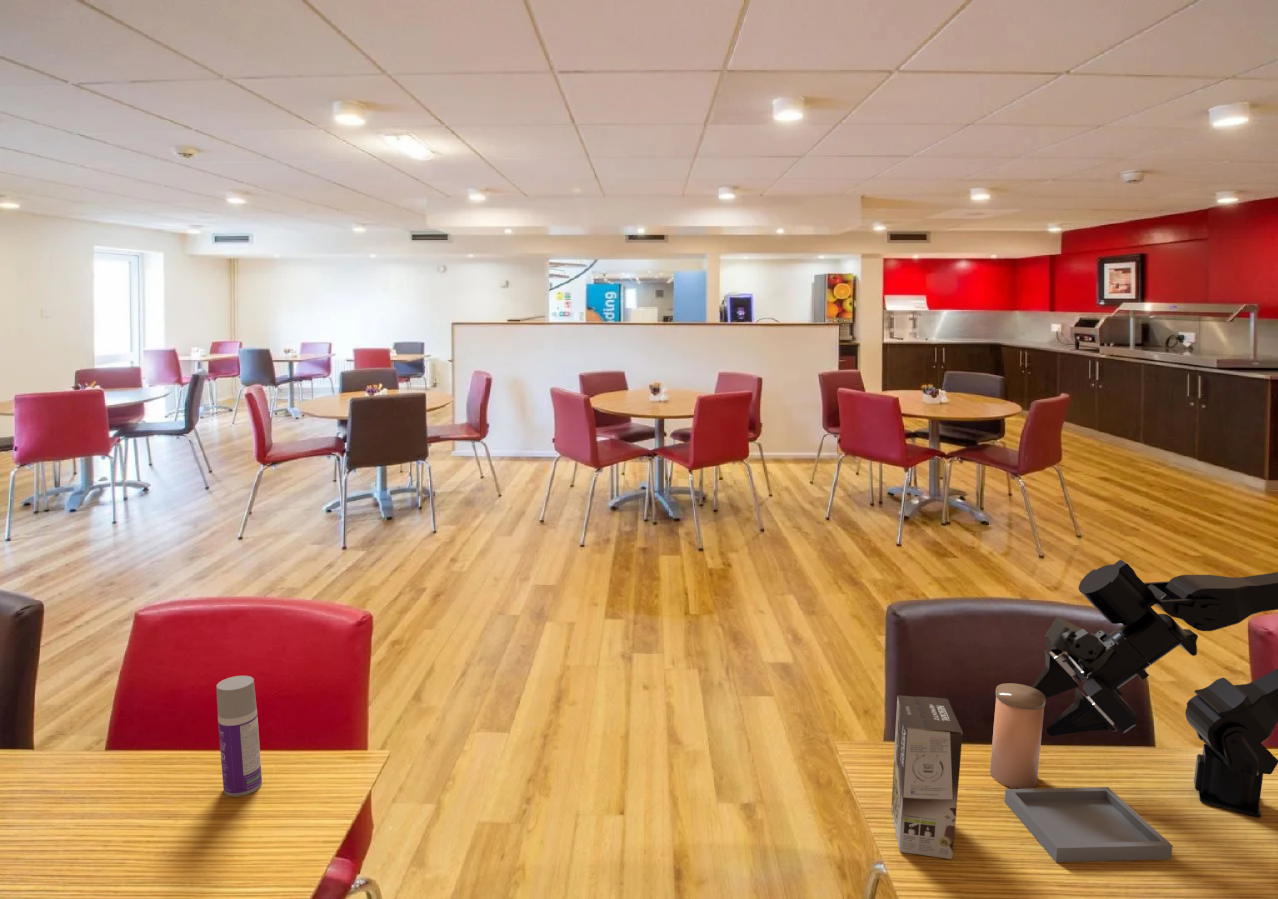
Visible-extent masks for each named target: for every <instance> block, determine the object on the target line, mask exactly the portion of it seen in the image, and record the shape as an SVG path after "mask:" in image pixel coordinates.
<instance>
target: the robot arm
mask: <svg viewBox="0 0 1278 899" xmlns="http://www.w3.org/2000/svg"><path fill="white" fill-rule="evenodd" d="M1078 591H1079V592H1080V593H1081V594H1082V595H1083V597H1085V599H1087V601H1088V602H1089V603H1090V604H1091V605H1092V606H1093V607H1094V608H1095V609H1096V611H1098V612H1099V613H1100V614H1101V616H1103V617H1104V619H1105V620H1106V621H1107V622H1108V623H1110V624H1112V625H1113V624H1114V625H1119V624H1122V625H1121V626H1119V627H1118V628H1116V629H1115V630H1114V631H1112V632H1111V633H1108V631H1107V630H1105V629H1104V630H1098V632H1095V633H1093V632H1091V633H1090V632H1088V631H1087V630H1086V629H1085V628H1081V627H1079V626H1077V625H1075V624H1073V623H1071V622H1069V621H1068V620H1066V619H1063V618H1062V617H1059V616H1056V618H1055V619H1054V621H1053V622H1052V624H1051V625H1050V627H1049V628H1048V629H1047V632H1046V633H1045V635H1044V637H1046V639H1048V640H1047V641H1046V642H1044V645H1045V646H1046V647H1048V649H1049V650H1050V651H1048V649H1047V648H1045V649H1044V650H1043V651H1044V652H1043V653H1044V654H1045V658H1044V659H1045V665H1044V667H1043V670H1042V671H1041V673H1040V674H1039V676H1038V677H1037V678H1036V680H1035V681H1034V683H1033V684H1032V685H1031V687H1032V688H1035V689H1037V690H1039V691H1040V692H1042V693H1043V694H1044V695H1045V697H1046V700H1047V699H1050V698H1052V697H1055V696H1057V695H1060V694H1062V693H1065V692H1068V691H1070V690H1074V689H1075V694H1074V700H1073V702H1072V703H1071V704H1070V705H1068V707H1067V708H1066V709H1065V710H1063V711H1062V712H1061V713H1060V714H1059V715H1058V716H1056V718H1054V719H1053V720H1052V721H1051V722H1050V723H1049V724H1048V725H1047V726H1046V727H1045V728H1044V730H1045V731H1044V732H1046V734H1048V735H1049V736H1050V737H1055V736H1063V735H1070V734H1071V735H1072V734H1077V733H1086V732H1097V731H1109V730H1110V731H1111V732H1116V731H1117V728H1118V729H1119V730H1120V731H1121V732H1122V733H1123V734H1126V733H1127V732H1128V731H1130V730H1131V729H1132V728H1134V727H1136V725H1137V724H1138V722H1137V721H1138V716H1139V715H1138V714H1137V713H1136V712H1135V711H1134V710H1133V709H1132V707H1130V705H1129V704H1128V703H1127V701H1125V700H1124V699H1123V698H1122V697H1121V696H1122V695H1123V692H1121V691H1120V689H1119V688H1121V687H1122V686H1124V685H1125V684H1127V683H1128V682H1129V681H1131V680H1132V679H1134V678H1135V677H1136V676H1138V677H1139V678H1140V679H1141V680H1142V681H1144V680H1145V679H1147V678H1148V677H1149V676H1150V674H1149V673H1148V672H1147V671H1146V669H1147V668H1149V667H1150V666H1152V665H1154V664H1155V663H1156V662H1158V661H1159V660H1161V659H1162V658H1164V656H1166V655H1167V654H1169V653H1170V652H1172V651H1173V650H1174V649H1176V648H1177V647H1181V649H1183V650H1185V651H1186V652H1187V653H1188V654H1189V655H1190V656H1192V657H1194V656H1197V655H1198V647H1197V646H1198V645H1197V642H1198V638H1199V636H1198V634H1197V633H1195V632H1194V631H1193V630H1191V629H1189V628H1182V627H1181V626H1180V625H1179V623H1177V621H1176V620H1175V619H1174V618H1176V619H1180V620H1181V621H1183V622H1184V623H1185V624H1187V625H1188V626H1190V627H1191V628H1193V629H1194V630H1197V631H1201V632H1214V631H1218V630H1220V629H1224V628H1227V627H1230V626H1234V625H1238V624H1240V623H1242V622H1243V621H1245V620H1246V619H1247V618H1249V617H1251V616H1253V615H1255V614H1259V613H1262V612H1263V613H1264V612H1270V611H1277V610H1278V571H1277V572H1276V571H1275V572H1270V573H1264V574H1263V573H1262V574H1255V575H1250V576H1242V577H1241V576H1240V577H1239V576H1237V577H1232V576H1231V577H1230V576H1221V575H1213V574H1181V575H1180V574H1179V575H1177V576H1175V577H1172V578H1171V579H1169V581H1168V580H1166V581H1154V582H1153V581H1152V582H1149V581H1148V582H1143V581H1142V579H1141V578H1140V577H1139V576H1138V575H1137V573H1136V572H1135V570H1134V569H1133V567H1132V566H1130V565H1129V563H1127V562H1126V561H1124V560H1123V559H1119V560H1117V561H1116V562H1115V563H1114V564H1113V563H1112V564H1107V565H1103V566H1101V567H1099V568H1096V569H1095V568H1094V569H1091V571H1089V572H1088V573H1086V575H1084V577H1083V578H1082V579H1081V581H1080V582H1079V584H1078ZM1153 606H1156V607H1158V608H1159V609H1161V610H1162V611H1163V612H1165V613H1157V612H1156V611H1155V609H1153ZM1074 676H1075V678H1077V680H1078V681H1079V682H1083V685H1082V687H1081V689H1082V690H1083V691H1084V692H1085V693H1086V695H1087V696H1086V695H1085V694H1084V693H1083V691H1081V690H1080V688H1079V687H1080V686H1081V685H1080V684H1079V683H1078V681H1077V680H1076V679H1075V678H1074ZM1193 692H1194V693H1195V695H1193V697H1191V698H1190V699H1189V700H1188V701H1187V702H1186V709H1185V719H1186V721H1187V723H1188V724H1189V726H1190V727H1191V728H1193V730H1195V732H1196V734H1197V738H1198V739H1199V740H1200V741H1202V742H1203V747H1202V754H1201V753H1198V754H1196V762H1195V768H1194V778H1193V783H1194V789H1195V790H1196V791H1197V793H1198V800H1199V801H1200V802H1201V803H1204V804H1207V805H1210V806H1211V805H1212V806H1215V807H1219V808H1221V809H1222V808H1223V809H1226V810H1230V811H1233V812H1238V813H1241V814H1245V815H1248V816H1253V817H1256V818H1260V817H1262V810H1261V807H1260V801H1261V796H1262V795H1261V794H1262V786H1263V779H1264V775H1272V774H1273V772H1274V770H1275V769H1276V767H1277V765H1278V758H1276V756H1275V755H1274V754H1272V753H1271V751H1269V750H1268V748H1267V747H1265V745H1264V744H1263V743H1264V742H1265V741H1266V740H1269V738H1270V736H1271V735H1272V733H1273V731H1274V729H1275V727H1276V726H1277V724H1278V667H1277V668H1275V669H1273V670H1272V671H1270V672H1268V673H1266V674H1264V675H1262V676H1260V677H1259V678H1257V679H1255V680H1253V681H1251V682H1249V683H1243V684H1233V683H1232V682H1231V681H1229V680H1228V679H1227V678H1225V677H1221V678H1217V679H1215V681H1213V682H1212V683H1211V684H1209V685H1208V686H1205V687H1204V688H1200V689H1195V690H1194V691H1193ZM1114 725H1115V726H1116V727H1117V728H1116V727H1115V726H1114Z"/></svg>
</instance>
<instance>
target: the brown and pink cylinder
mask: <svg viewBox="0 0 1278 899" xmlns="http://www.w3.org/2000/svg"><path fill="white" fill-rule="evenodd" d="M1046 700H1047V699H1046V697H1045V695H1044V694H1043V693H1042V692H1040V691H1039V690H1037V689H1035V688H1032V686H1030V685H1026V684H1021V683H1012V682H1009V683H1008V682H1007V683H1001V684H998V685H997V686H996V688H995V706H994V707H995V708H994V719H993V720H994V721H993V727H992V728H993V729H992V730H993V731H992V732H993V734H992V742H991V753H990V754H991V755H990V764H989V765H990V766H989V774H990V773H991V774H990V776H991V777H992V779H994V778H995V779H996V780H997V781H998V782H997V781H996V780H995V779H994V780H995V781H996V782H997V783H999V784H1001V783H1002V785H1003V784H1004V786H1005V785H1006V786H1005V787H1008V786H1009V787H1008V788H1010V789H1016V788H1018V789H1030V788H1031V789H1034V788H1035V787H1036V786H1037V784H1038V779H1039V778H1038V777H1039V766H1040V758H1041V757H1040V756H1041V753H1040V752H1041V743H1042V733H1043V722H1044V713H1045V712H1044V711H1045V706H1046Z"/></svg>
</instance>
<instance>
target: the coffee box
mask: <svg viewBox="0 0 1278 899" xmlns="http://www.w3.org/2000/svg"><path fill="white" fill-rule="evenodd" d="M896 700H897V701H896V714H895V717H896V718H895V733H894V735H895V736H894V753H893V771H892V772H893V773H892V774H893V775H892V789H891V790H892V793H891V815H892V820H893V825H894V830H895V835H896V840H897V844H898V845H897V846H898V850H899V852H900V853H906V854H912V855H913V854H914V855H919V856H926V857H927V856H928V857H933V858H934V857H935V858H940V859H946V860H947V859H948V860H952V859H953V857H954V845H955V835H956V834H955V832H956V831H955V830H956V822H957V821H956V820H957V819H956V818H957V808H958V807H957V806H958V794H959V793H958V792H959V782H960V781H959V780H960V770H961V769H960V768H961V757H962V755H961V754H962V742H963V734H964V732H963V729H962V727H961V726H960V723H959V721H958V718H957V717H956V715H955V714H956V713H954V710H953V707H952V705H951V703H950V700H949V699H948V698H943V697H942V698H940V697H932V696H918V695H917V696H910V695H901V694H900V695H899V694H898V695H897V697H896Z"/></svg>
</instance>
